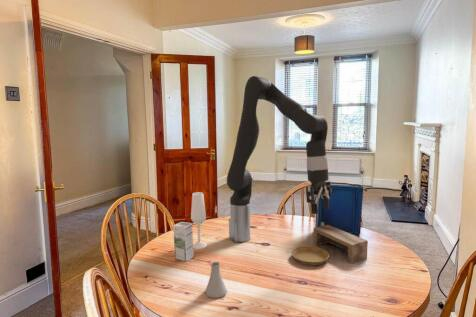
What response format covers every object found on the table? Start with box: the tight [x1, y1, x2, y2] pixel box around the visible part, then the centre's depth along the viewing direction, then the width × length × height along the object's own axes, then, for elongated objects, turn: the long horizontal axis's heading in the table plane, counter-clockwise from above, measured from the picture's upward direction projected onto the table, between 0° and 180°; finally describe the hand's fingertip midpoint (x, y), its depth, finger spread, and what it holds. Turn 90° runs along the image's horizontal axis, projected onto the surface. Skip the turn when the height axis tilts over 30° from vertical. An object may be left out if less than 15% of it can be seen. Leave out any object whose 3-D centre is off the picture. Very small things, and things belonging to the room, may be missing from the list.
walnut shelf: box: [312, 225, 369, 264], centre depth 131 cm, size 8×22×8 cm, turn 28°
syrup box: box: [173, 221, 194, 262], centre depth 126 cm, size 6×6×14 cm
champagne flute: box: [190, 191, 208, 250], centre depth 138 cm, size 7×7×24 cm
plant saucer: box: [290, 245, 330, 266], centre depth 125 cm, size 15×15×3 cm
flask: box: [204, 261, 228, 299], centre depth 101 cm, size 7×7×10 cm
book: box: [314, 181, 364, 236], centre depth 151 cm, size 22×7×25 cm, turn 84°
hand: (320, 211), depth 116 cm, fingers open, 8 cm apart
